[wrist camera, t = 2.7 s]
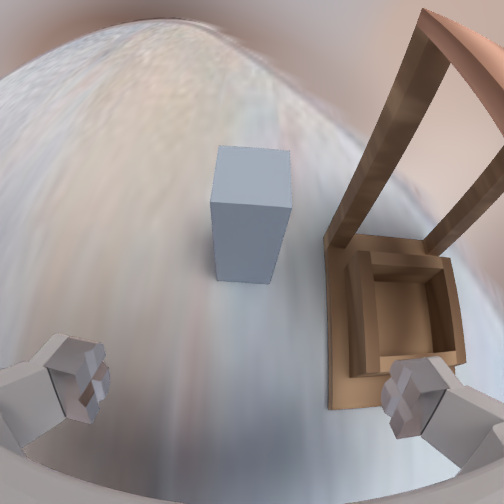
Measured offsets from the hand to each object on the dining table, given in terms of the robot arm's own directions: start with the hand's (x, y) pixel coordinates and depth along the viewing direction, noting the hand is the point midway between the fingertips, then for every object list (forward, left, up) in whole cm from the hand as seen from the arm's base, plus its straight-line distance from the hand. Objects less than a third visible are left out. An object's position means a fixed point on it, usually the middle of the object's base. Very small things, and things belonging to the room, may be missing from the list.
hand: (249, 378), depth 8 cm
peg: (0, +10, -14) cm, 17 cm away
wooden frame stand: (+12, +5, -14) cm, 19 cm away
